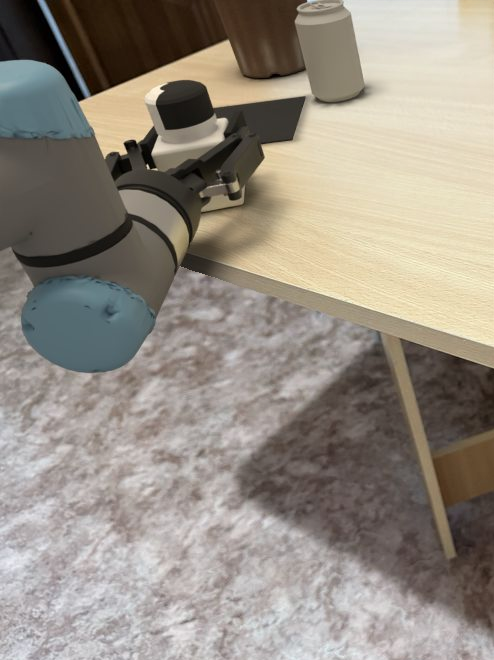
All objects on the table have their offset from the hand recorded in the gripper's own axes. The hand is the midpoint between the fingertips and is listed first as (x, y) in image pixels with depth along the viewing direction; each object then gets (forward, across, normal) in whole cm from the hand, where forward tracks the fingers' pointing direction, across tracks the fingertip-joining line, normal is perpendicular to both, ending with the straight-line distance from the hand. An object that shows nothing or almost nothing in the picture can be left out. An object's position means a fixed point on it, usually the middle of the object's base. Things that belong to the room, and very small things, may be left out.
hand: (203, 127), depth 75 cm
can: (+24, +12, -6) cm, 28 cm away
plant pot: (+42, +1, -6) cm, 43 cm away
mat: (+17, -2, -6) cm, 18 cm away
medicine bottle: (-5, 0, -6) cm, 8 cm away
